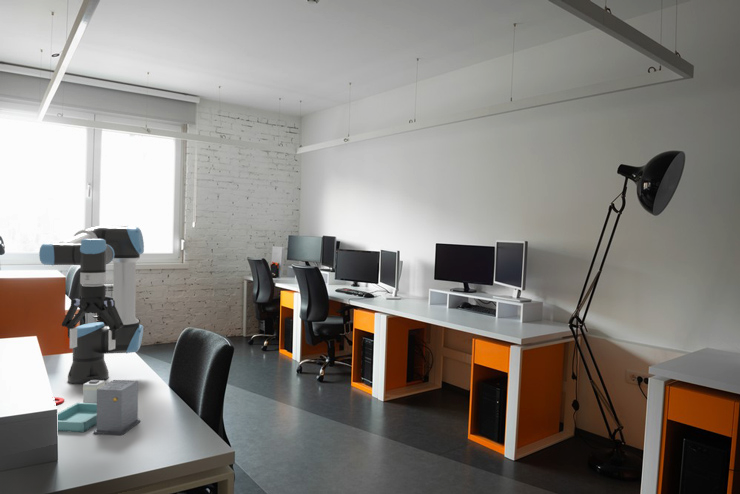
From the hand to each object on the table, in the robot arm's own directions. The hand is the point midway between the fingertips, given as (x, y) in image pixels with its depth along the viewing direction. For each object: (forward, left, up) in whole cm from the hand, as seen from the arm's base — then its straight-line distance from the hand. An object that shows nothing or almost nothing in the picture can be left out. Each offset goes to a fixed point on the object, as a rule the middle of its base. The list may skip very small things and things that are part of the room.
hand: (92, 348), depth 171 cm
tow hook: (-13, -24, -24) cm, 37 cm away
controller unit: (+6, +12, -24) cm, 28 cm away
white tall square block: (-14, -8, -24) cm, 29 cm away
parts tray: (+2, -3, -24) cm, 24 cm away
